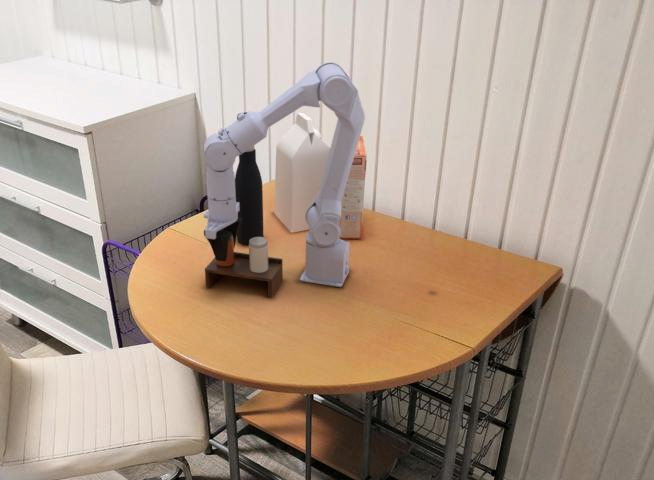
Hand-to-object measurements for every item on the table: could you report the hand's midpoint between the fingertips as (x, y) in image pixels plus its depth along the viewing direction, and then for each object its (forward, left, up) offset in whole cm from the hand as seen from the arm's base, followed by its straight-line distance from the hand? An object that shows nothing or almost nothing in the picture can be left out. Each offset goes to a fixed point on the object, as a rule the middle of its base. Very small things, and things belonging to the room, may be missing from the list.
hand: (225, 255), depth 158 cm
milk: (-7, -36, -7) cm, 37 cm away
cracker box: (-19, -35, -7) cm, 40 cm away
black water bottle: (+2, -21, -7) cm, 22 cm away
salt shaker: (-8, 0, -2) cm, 8 cm away
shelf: (-4, 0, -6) cm, 8 cm away
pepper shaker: (0, 0, -2) cm, 2 cm away
